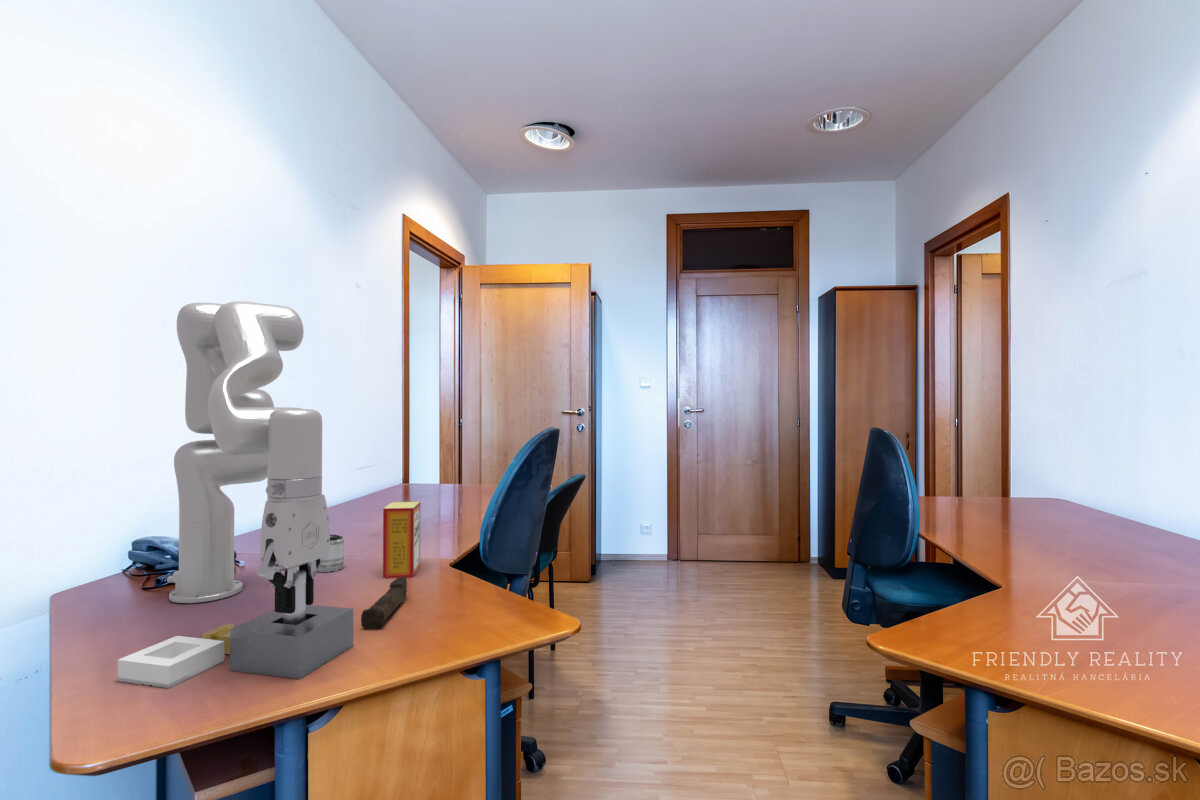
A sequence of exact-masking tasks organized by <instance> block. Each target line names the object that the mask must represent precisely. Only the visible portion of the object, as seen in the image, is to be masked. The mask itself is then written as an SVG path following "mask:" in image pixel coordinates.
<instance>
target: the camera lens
mask: <svg viewBox="0 0 1200 800" xmlns="http://www.w3.org/2000/svg"><path fill="white" fill-rule="evenodd" d="M344 562H345V538H344V537H343V536H341V535H339V534H330V549H329V552H328V553H327V554H326V556H325V557H324V558H323V559H322V560H321V561H320V564H319V566H318V568H317V571H318V573H322V572H328V573H331V572H330V571H335V572H337V571H336V570H339V569H341V568H342V569H343V568H344V567H343V566H344ZM342 569H341V570H342ZM339 571H340V570H339Z"/></svg>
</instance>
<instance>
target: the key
mask: <svg viewBox="0 0 1200 800" xmlns="http://www.w3.org/2000/svg"><path fill="white" fill-rule="evenodd" d="M234 627H235V624H231V623H230V624H229V623H224V624H221V625H220V626H218V627H215V628H213V629H210V630H208V631H206V632H203V633H201V638H202V639H211V640H220V641H224V655H230V629H232V628H234Z"/></svg>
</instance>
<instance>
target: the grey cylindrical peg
mask: <svg viewBox="0 0 1200 800" xmlns="http://www.w3.org/2000/svg"><path fill="white" fill-rule="evenodd" d="M282 574H283V575H285V572H283V573H282ZM292 586H295V612H294V613H291V614H288V613H283V624H290V625H298V624H300V623H302V622H304V621H306V571H305V570H296V569H294V571H293V582H292Z"/></svg>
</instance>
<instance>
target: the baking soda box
mask: <svg viewBox="0 0 1200 800" xmlns="http://www.w3.org/2000/svg"><path fill="white" fill-rule="evenodd" d="M382 511H383V512H382V515H383V517H382V521H383V522H382V523H383V524H382V526H383V527H382V528H383V531H382V537H383V538H382V578H385V579H397V578H399V577H402V576H404V577H406V579H408V578H414V577H415V575H416V574H417V572H418V571H419V569H420V567H421V501H391V503H388V504H387V505H386V506H384V508H383V510H382Z"/></svg>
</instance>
